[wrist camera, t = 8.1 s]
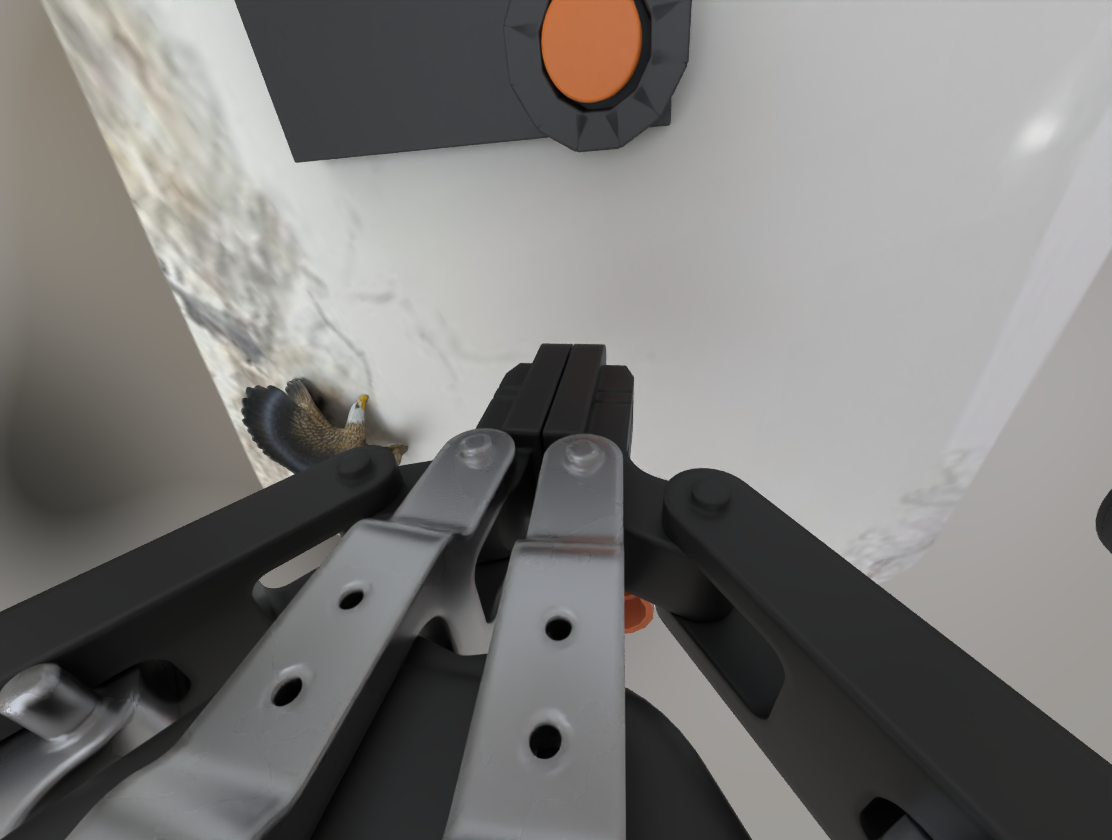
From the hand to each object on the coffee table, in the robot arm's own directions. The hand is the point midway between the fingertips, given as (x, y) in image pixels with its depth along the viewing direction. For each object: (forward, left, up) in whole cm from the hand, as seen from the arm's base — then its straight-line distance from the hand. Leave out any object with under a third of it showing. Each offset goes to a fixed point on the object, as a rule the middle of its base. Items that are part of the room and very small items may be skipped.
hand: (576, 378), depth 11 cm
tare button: (0, -7, -10) cm, 12 cm away
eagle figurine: (+18, +11, -13) cm, 24 cm away
